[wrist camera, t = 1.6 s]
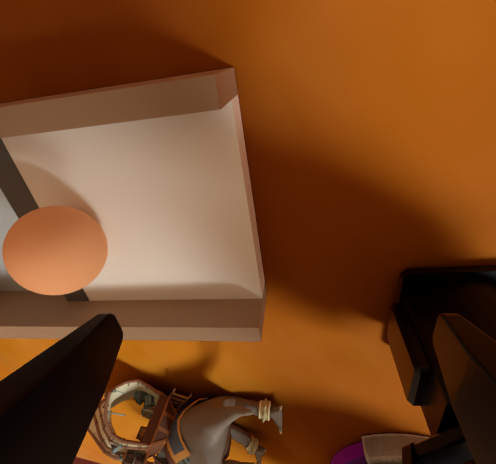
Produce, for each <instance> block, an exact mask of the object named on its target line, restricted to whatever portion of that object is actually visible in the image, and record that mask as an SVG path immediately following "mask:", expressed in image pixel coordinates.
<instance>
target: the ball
mask: <svg viewBox="0 0 496 464" xmlns="http://www.w3.org/2000/svg"><path fill="white" fill-rule="evenodd" d="M107 255H108V243H107V239H106V236H105V233H104V231H103V230H102V228H101V226H100V225H99V224H98V223H97V222H96V221H95V220H94V219H93V218H92V217H91V216H89V215H88V214H86V213H84V212H82V211H80V210H78V209H75V208H71V207H66V206H47V207H42V208H39V209H36V210H33V211H31V212H29V213H27V214H25V215H23V216H22V217H21V218H19V219H18V220H17V221H16V222H15V223H14V224H13V225H12V226H11V228H10V229H9V231H8V232H7V234H6V237H5V239H4V242H3V248H2V256H3V261H4V265H5V267H6V270H7V271H8V273H9V274H10V276H11V277H12V278H13V279H14V280H15V281H16V282H17V283H18V284H19V285H21V286H22V287H24V288H26V289H28V290H30V291H32V292H35V293H38V294H44V295H63V294H68V293H72V292H75V291H77V290H80V289H82V288H83V287H85V286H87V285H88V284H90V283H91V282H92V281H93V280H94V279H95V278H96V277H97V276H98V275H99V273H100V272H101V271H102V269H103V267H104V265H105V263H106V259H107Z"/></svg>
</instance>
